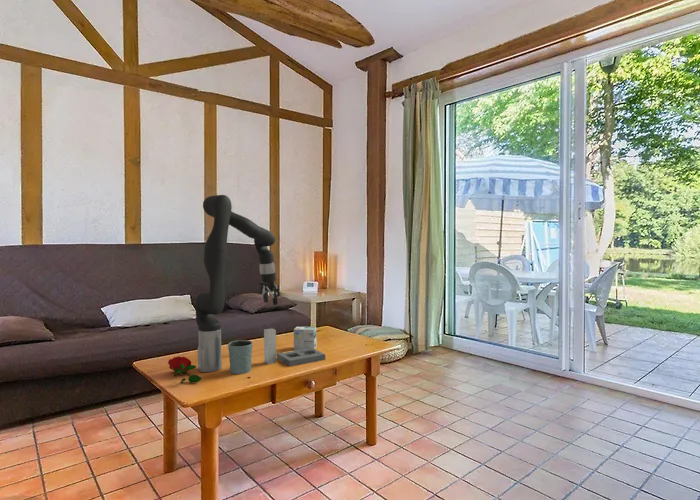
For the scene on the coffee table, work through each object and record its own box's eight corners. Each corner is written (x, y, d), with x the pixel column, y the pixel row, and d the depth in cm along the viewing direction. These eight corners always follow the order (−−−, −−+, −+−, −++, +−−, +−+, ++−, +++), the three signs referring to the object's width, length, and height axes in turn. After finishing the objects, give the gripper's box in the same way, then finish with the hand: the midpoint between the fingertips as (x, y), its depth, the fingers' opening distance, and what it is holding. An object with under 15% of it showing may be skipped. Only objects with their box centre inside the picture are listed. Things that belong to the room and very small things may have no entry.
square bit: (267, 364, 190) (267, 331, 190) (264, 362, 194) (264, 329, 193) (276, 363, 192) (275, 330, 192) (272, 360, 196) (272, 328, 195)
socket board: (289, 366, 187) (289, 360, 187) (276, 358, 199) (276, 352, 199) (325, 359, 197) (325, 353, 197) (311, 352, 209) (311, 347, 209)
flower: (205, 358, 161) (176, 349, 183) (183, 375, 155) (156, 363, 178) (217, 377, 164) (186, 366, 186) (196, 394, 158) (167, 380, 180)
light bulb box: (316, 347, 219) (316, 326, 219) (314, 350, 212) (314, 329, 212) (296, 346, 220) (296, 326, 220) (293, 350, 213) (293, 329, 213)
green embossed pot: (243, 365, 188) (243, 338, 188) (257, 370, 182) (257, 342, 182) (223, 371, 181) (223, 343, 180) (238, 376, 174) (237, 347, 174)
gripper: (253, 271, 214) (256, 303, 216) (269, 274, 204) (272, 307, 206) (266, 269, 219) (269, 299, 221) (282, 271, 209) (285, 304, 211)
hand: (270, 303), depth 214 cm, fingers open, 8 cm apart
